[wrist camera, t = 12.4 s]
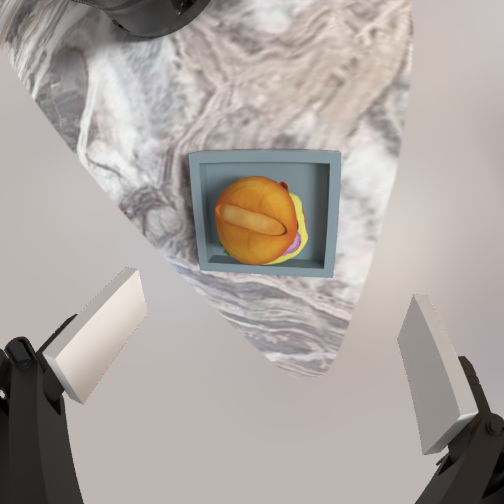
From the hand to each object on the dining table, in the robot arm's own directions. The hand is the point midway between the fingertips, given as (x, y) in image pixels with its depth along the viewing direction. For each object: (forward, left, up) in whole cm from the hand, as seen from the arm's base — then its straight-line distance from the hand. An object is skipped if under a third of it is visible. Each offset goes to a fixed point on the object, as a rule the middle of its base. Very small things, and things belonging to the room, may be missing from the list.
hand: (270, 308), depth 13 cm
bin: (+3, -3, -24) cm, 25 cm away
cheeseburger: (+3, -4, -24) cm, 24 cm away
